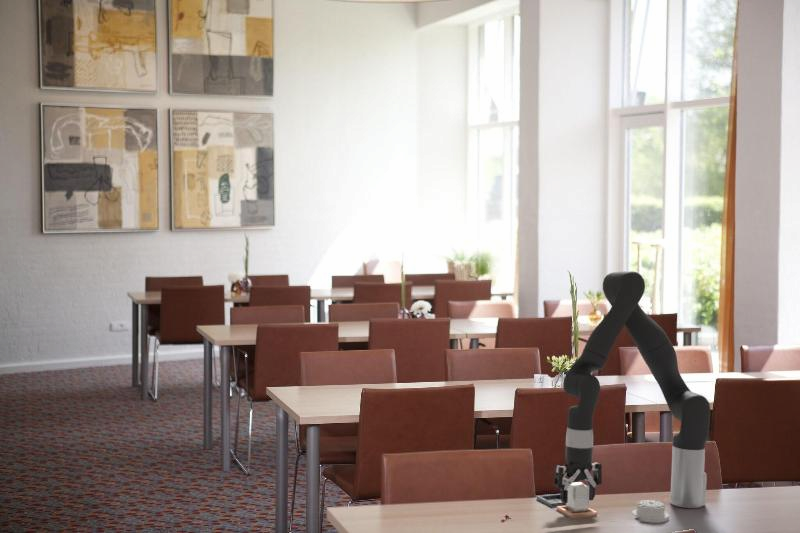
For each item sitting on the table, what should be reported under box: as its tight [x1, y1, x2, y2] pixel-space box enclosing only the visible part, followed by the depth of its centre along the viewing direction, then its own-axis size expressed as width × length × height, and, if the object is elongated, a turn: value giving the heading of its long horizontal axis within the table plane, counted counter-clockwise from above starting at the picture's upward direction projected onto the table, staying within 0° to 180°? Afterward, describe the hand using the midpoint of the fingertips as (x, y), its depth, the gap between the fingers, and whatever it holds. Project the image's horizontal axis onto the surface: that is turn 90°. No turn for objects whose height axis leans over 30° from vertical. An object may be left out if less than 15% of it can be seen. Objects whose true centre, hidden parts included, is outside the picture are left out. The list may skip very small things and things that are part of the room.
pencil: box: [500, 514, 510, 522], centre depth 288 cm, size 1×19×1 cm, turn 160°
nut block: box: [566, 481, 590, 514], centre depth 286 cm, size 4×4×8 cm
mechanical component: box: [631, 499, 670, 524], centre depth 287 cm, size 10×4×10 cm
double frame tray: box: [535, 493, 601, 521], centre depth 291 cm, size 9×20×2 cm, turn 23°
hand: (577, 501), depth 286 cm, fingers open, 8 cm apart
